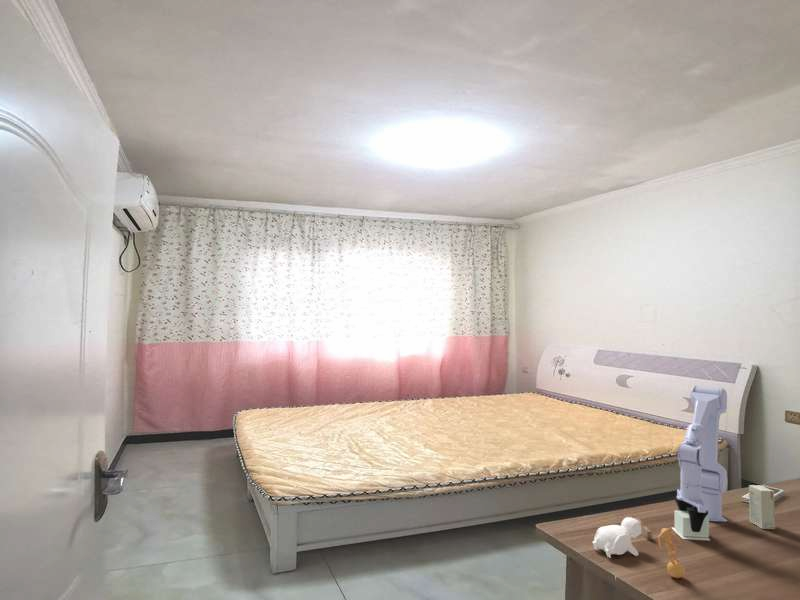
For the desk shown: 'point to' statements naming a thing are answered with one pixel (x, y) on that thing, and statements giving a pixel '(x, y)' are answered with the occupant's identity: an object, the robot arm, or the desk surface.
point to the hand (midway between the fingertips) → (690, 527)
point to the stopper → (644, 529)
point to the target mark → (690, 536)
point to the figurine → (671, 553)
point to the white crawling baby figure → (618, 537)
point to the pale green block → (689, 525)
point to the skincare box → (761, 506)
